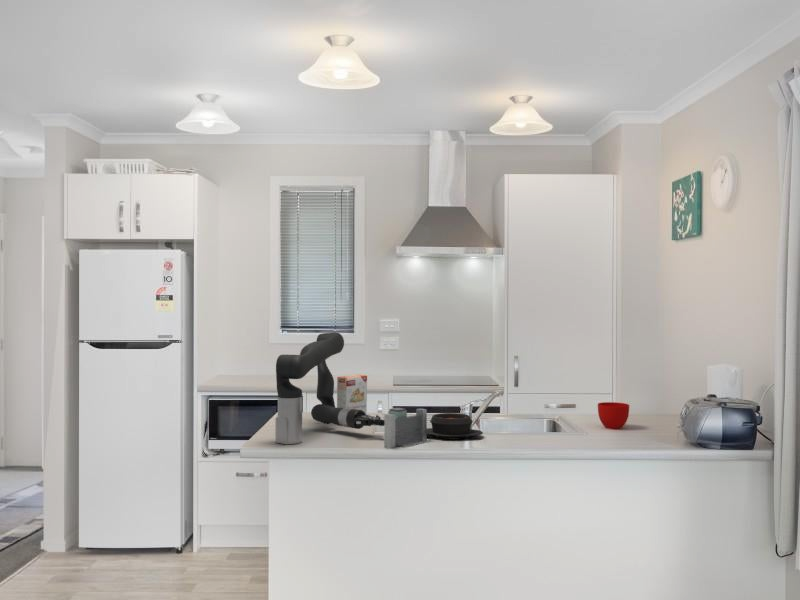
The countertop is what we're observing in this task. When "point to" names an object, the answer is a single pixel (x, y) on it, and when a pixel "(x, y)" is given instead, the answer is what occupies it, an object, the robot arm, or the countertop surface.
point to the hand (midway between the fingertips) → (384, 423)
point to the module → (398, 412)
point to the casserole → (452, 426)
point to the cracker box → (352, 392)
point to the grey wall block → (405, 429)
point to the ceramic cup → (613, 414)
